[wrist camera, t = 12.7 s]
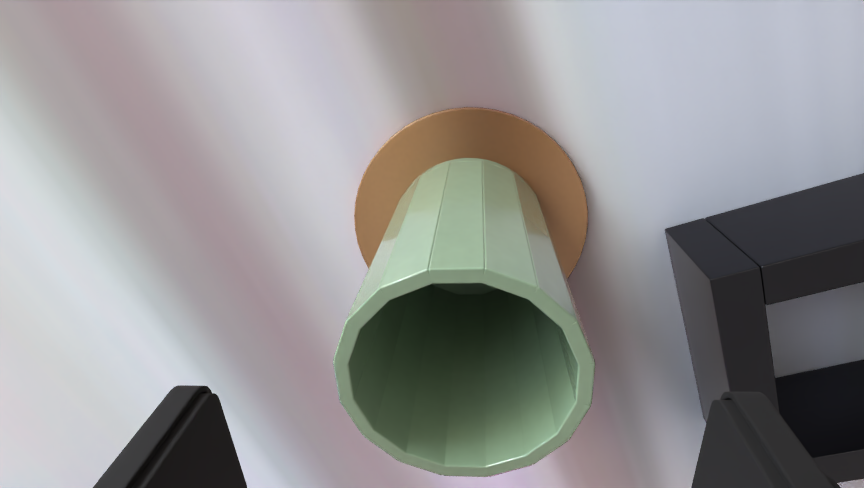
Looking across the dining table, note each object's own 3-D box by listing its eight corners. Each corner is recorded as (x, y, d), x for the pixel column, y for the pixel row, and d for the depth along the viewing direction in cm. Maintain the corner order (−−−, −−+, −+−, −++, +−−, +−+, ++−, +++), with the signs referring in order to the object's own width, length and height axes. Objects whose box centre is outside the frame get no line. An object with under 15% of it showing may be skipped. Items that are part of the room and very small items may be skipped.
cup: (401, 295, 23) (351, 473, 14) (388, 160, 20) (316, 270, 11) (542, 294, 22) (585, 480, 13) (546, 154, 20) (604, 266, 11)
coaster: (369, 321, 24) (367, 326, 24) (342, 113, 20) (339, 114, 20) (579, 321, 23) (580, 325, 23) (594, 100, 19) (596, 102, 19)
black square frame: (703, 418, 25) (748, 498, 21) (664, 228, 21) (710, 279, 17) (953, 368, 23) (1061, 446, 18) (960, 144, 19) (1098, 180, 15)
